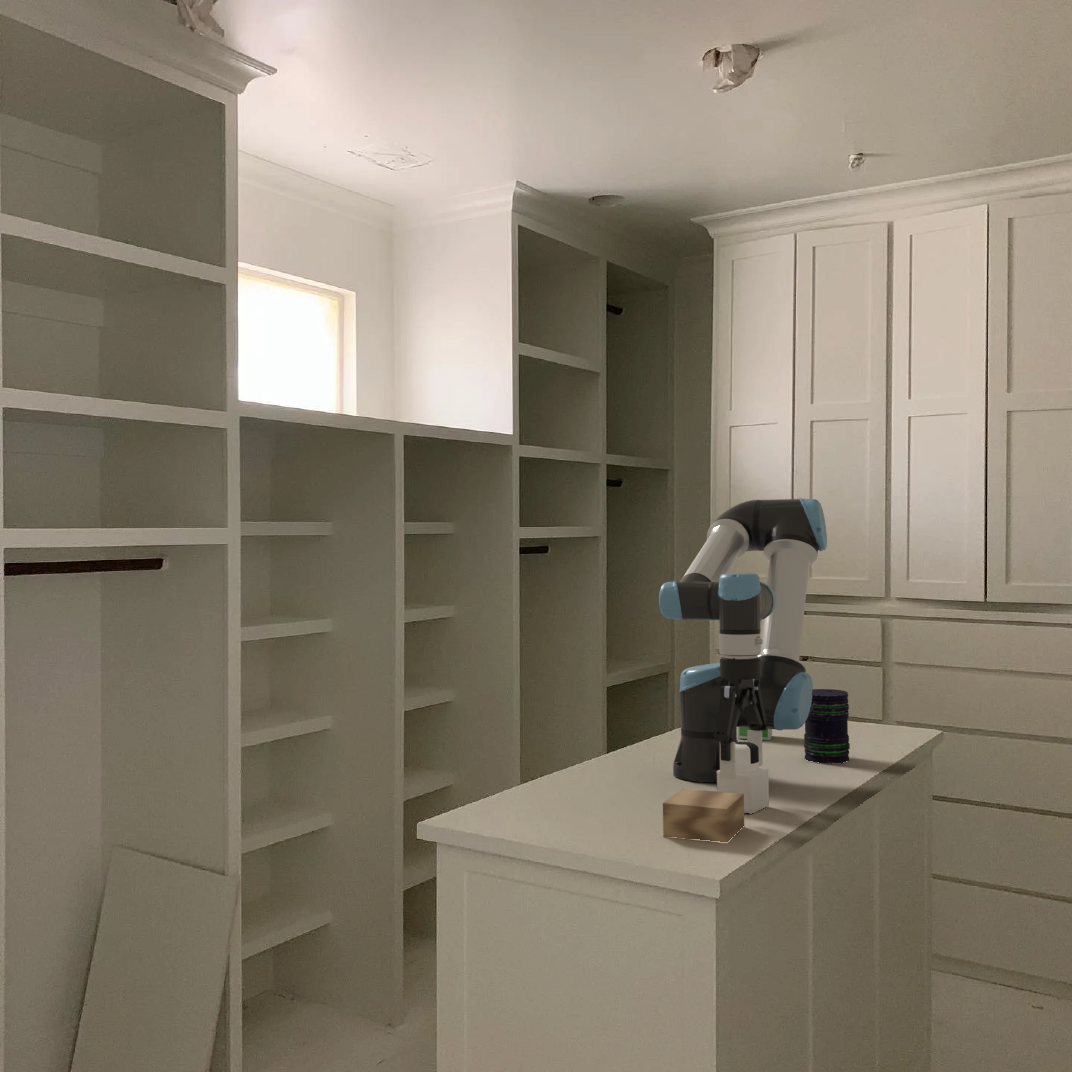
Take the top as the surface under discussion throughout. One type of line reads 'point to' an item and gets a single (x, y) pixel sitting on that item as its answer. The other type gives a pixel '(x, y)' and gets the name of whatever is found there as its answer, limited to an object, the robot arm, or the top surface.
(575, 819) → the top surface
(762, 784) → the medicine bottle
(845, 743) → the storage jar
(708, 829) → the oak box
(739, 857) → the top surface
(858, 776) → the top surface
